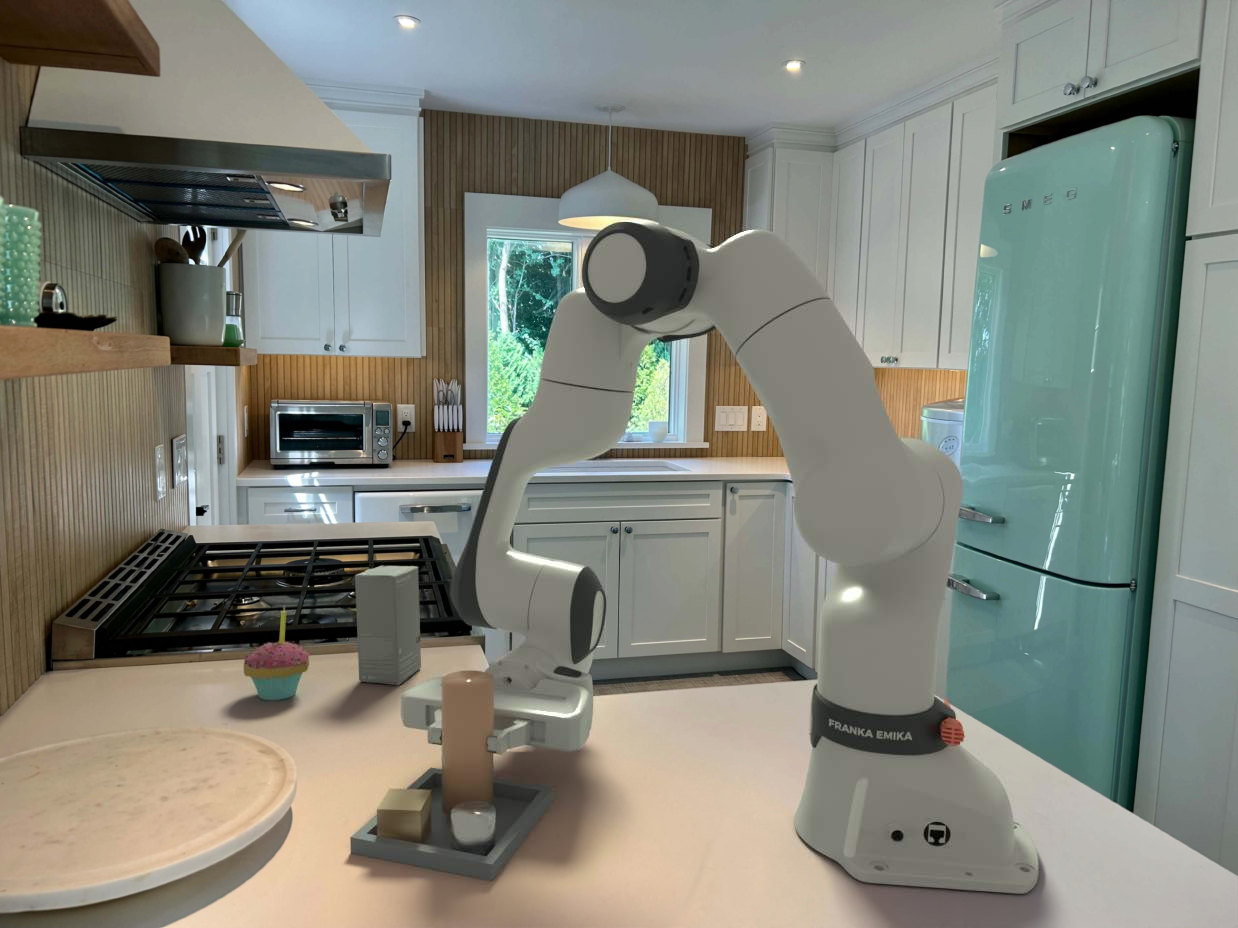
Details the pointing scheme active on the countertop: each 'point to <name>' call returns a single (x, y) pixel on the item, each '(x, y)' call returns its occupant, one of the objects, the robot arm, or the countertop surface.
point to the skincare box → (388, 624)
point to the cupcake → (277, 666)
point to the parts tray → (513, 823)
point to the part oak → (405, 815)
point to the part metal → (473, 827)
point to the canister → (466, 738)
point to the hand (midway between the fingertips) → (463, 741)
